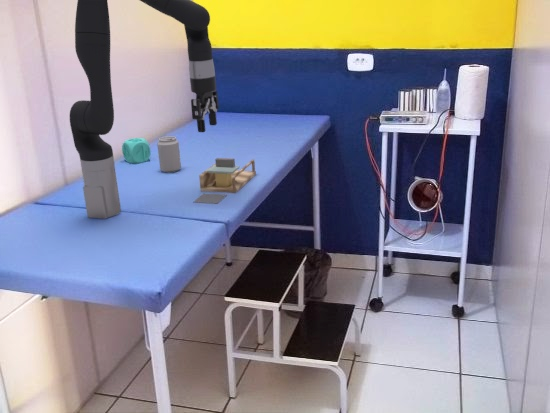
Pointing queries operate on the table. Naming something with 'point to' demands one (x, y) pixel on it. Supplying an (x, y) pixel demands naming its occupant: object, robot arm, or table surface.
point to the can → (169, 154)
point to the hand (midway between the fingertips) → (207, 128)
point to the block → (223, 179)
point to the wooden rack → (237, 180)
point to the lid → (223, 166)
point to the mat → (210, 198)
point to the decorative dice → (136, 150)
